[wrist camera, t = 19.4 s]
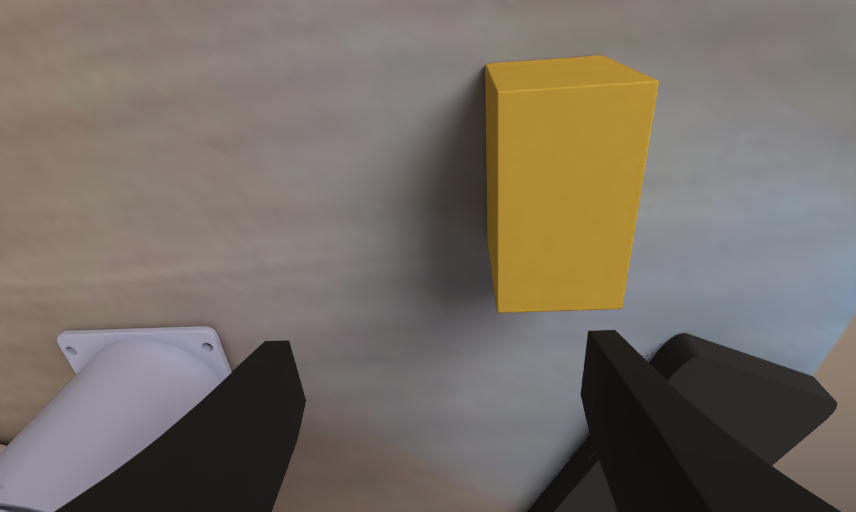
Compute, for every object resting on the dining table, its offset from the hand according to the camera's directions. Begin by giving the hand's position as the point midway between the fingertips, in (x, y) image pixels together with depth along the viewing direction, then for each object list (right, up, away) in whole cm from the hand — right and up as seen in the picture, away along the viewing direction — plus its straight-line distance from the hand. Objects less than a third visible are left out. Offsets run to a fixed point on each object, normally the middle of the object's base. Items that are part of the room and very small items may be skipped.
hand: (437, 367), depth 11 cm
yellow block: (+4, +6, +6) cm, 10 cm away
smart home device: (+8, -19, +20) cm, 28 cm away
